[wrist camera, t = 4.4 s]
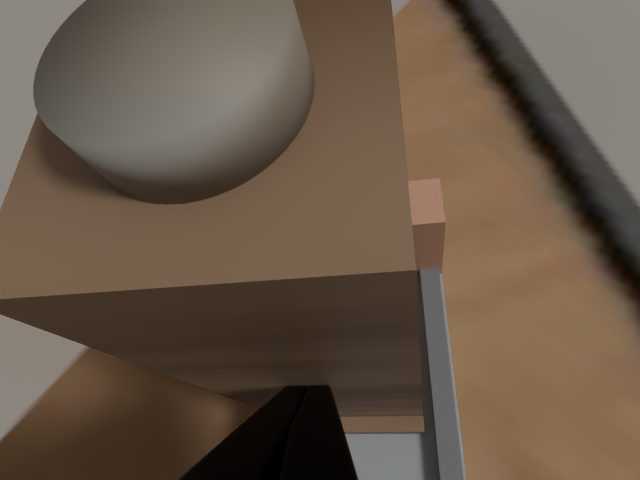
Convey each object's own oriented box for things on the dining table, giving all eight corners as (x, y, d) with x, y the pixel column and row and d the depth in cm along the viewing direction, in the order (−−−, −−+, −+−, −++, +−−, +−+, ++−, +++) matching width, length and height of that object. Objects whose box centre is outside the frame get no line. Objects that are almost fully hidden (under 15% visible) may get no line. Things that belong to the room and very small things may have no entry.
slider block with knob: (424, 433, 13) (419, 280, 2) (290, 434, 14) (-157, 318, 3) (411, 277, 15) (378, -157, 5) (295, 285, 16) (41, -73, 5)
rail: (493, 738, 11) (536, 908, 7) (256, 711, 12) (164, 841, 8) (436, 250, 17) (439, 177, 13) (280, 262, 18) (236, 199, 14)
